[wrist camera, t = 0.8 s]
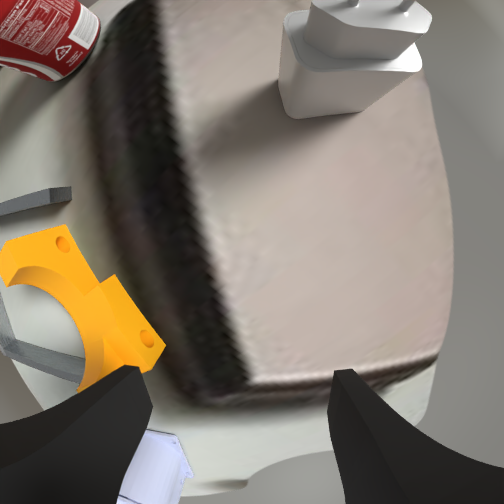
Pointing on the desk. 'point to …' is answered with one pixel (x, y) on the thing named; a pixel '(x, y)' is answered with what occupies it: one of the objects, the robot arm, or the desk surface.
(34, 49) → the soda can
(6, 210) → the frame
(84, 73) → the desk surface
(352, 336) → the desk surface
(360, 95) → the power adapter
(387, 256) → the desk surface
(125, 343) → the pipe clamp
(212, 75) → the desk surface
